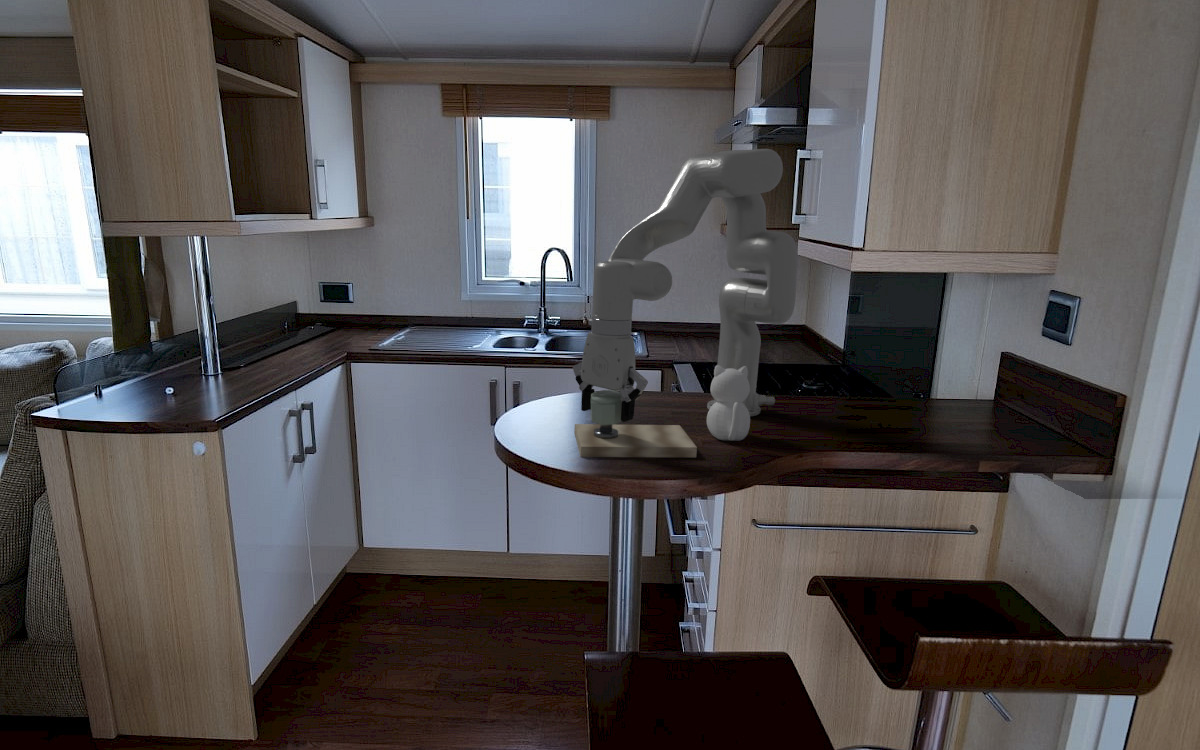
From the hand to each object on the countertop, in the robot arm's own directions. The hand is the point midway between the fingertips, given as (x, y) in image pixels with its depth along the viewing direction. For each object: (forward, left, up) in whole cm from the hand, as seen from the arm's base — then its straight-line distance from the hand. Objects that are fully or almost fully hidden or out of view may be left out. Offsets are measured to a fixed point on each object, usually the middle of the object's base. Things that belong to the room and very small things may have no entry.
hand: (606, 414), depth 129 cm
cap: (0, 0, -1) cm, 1 cm away
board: (-6, 0, -6) cm, 8 cm away
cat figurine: (-27, -5, -6) cm, 28 cm away
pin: (0, 0, -4) cm, 4 cm away
